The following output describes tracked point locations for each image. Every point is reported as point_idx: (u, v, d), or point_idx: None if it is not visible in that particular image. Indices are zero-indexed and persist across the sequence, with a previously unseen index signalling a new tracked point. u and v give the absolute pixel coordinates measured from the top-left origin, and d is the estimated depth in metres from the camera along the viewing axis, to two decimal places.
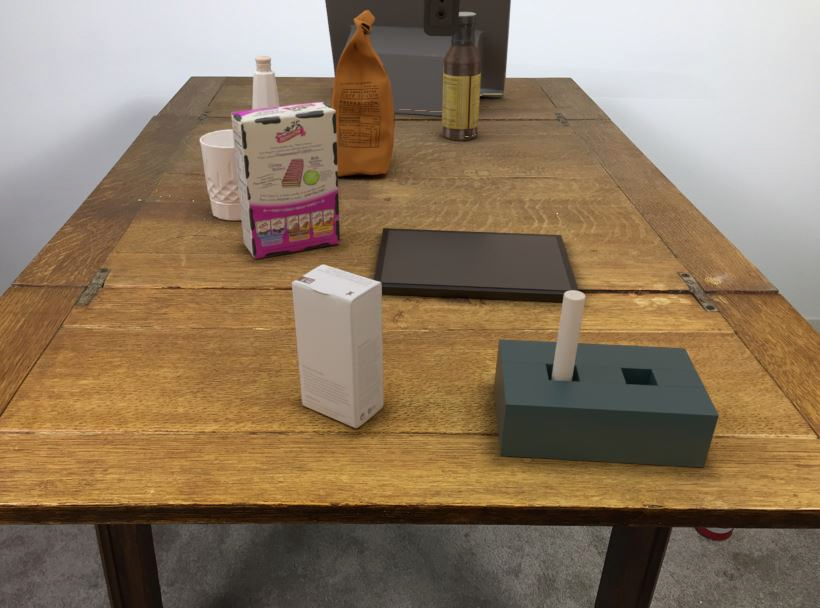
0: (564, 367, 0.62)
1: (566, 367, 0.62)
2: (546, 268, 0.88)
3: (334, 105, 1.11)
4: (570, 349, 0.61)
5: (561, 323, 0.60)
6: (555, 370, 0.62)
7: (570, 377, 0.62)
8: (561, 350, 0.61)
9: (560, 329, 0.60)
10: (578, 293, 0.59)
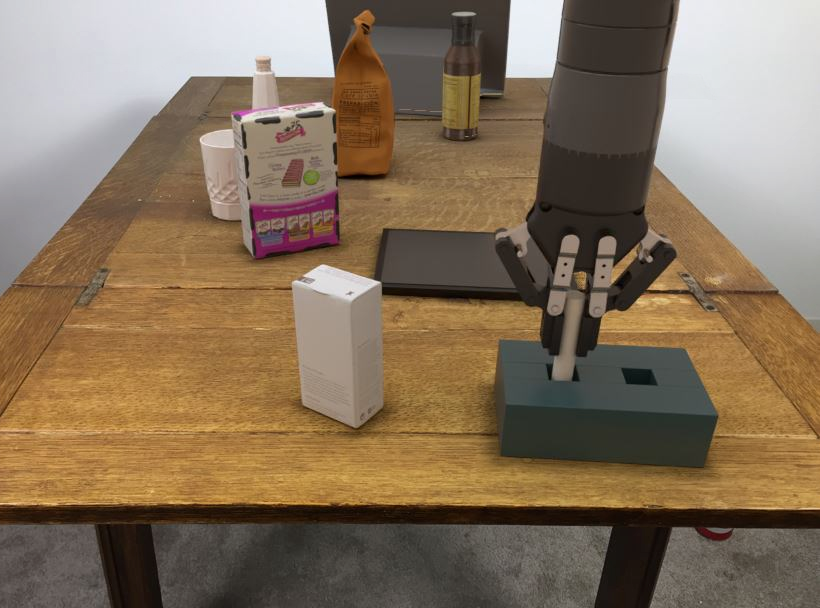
0: (564, 367, 0.62)
1: (566, 367, 0.62)
2: (546, 268, 0.88)
3: (334, 105, 1.11)
4: (570, 349, 0.61)
5: None
6: (555, 370, 0.62)
7: (570, 377, 0.62)
8: (560, 350, 0.61)
9: None
10: (578, 293, 0.59)
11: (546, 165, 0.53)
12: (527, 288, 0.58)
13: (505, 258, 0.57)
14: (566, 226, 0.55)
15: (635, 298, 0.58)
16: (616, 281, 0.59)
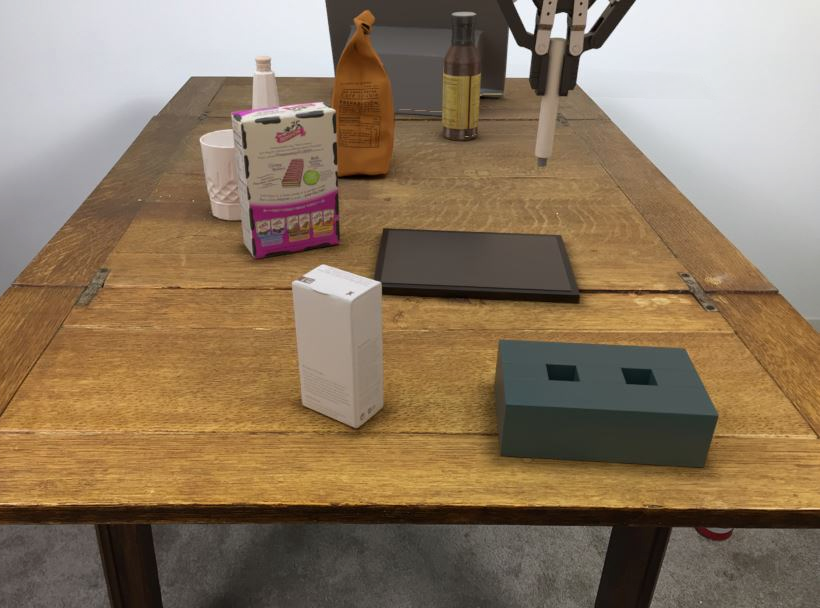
0: (549, 107, 0.75)
1: (551, 107, 0.75)
2: (546, 268, 0.88)
3: (334, 105, 1.11)
4: (554, 89, 0.74)
5: None
6: (541, 112, 0.75)
7: (554, 117, 0.75)
8: (546, 91, 0.74)
9: None
10: (561, 38, 0.72)
11: None
12: (519, 29, 0.71)
13: (501, 0, 0.70)
14: None
15: (607, 36, 0.71)
16: (592, 28, 0.72)
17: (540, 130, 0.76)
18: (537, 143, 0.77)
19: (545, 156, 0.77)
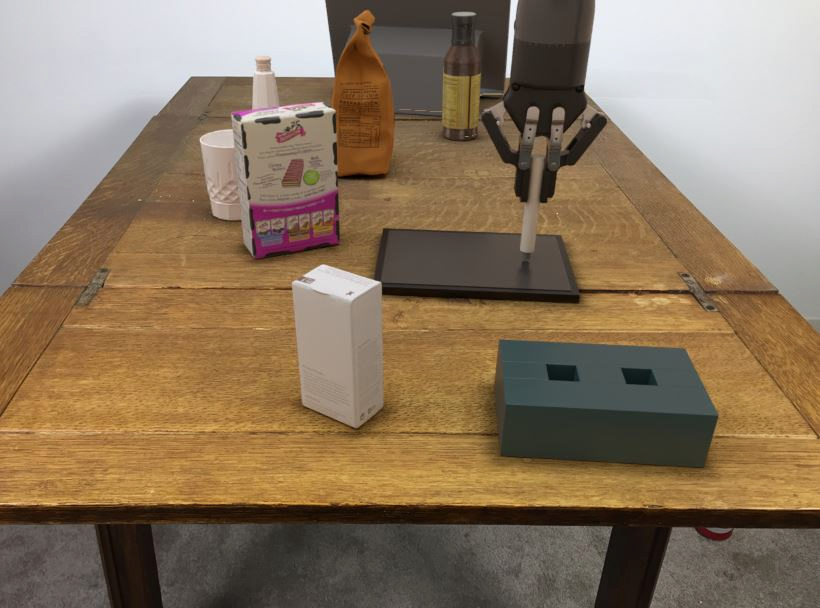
0: (531, 211, 0.86)
1: (533, 211, 0.86)
2: (546, 268, 0.88)
3: (334, 105, 1.11)
4: (535, 197, 0.85)
5: None
6: (525, 214, 0.87)
7: (536, 220, 0.87)
8: (529, 199, 0.86)
9: None
10: (541, 155, 0.84)
11: (515, 56, 0.78)
12: (504, 149, 0.82)
13: (488, 126, 0.81)
14: (530, 102, 0.80)
15: (579, 155, 0.82)
16: (567, 146, 0.84)
17: (524, 230, 0.88)
18: (521, 240, 0.89)
19: (528, 251, 0.89)
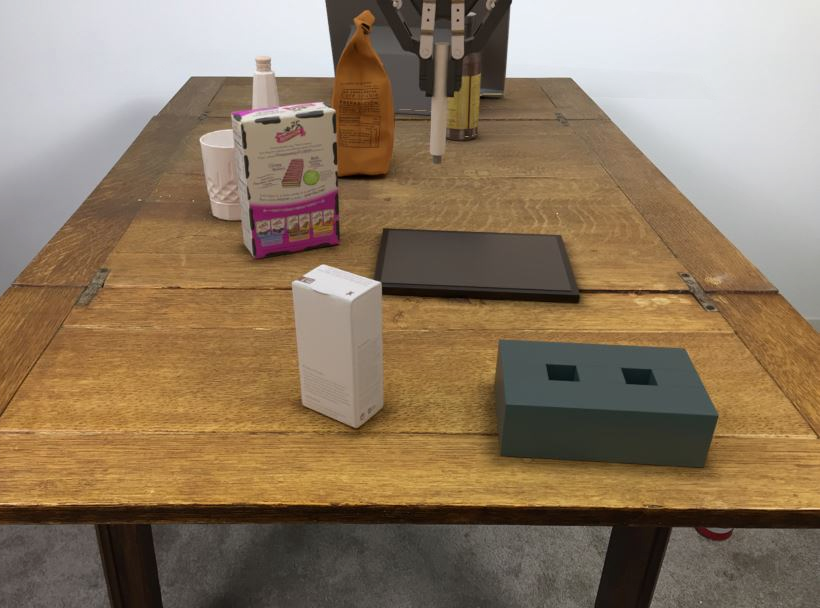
0: (438, 107, 0.79)
1: (439, 107, 0.79)
2: (546, 268, 0.88)
3: (334, 105, 1.11)
4: (441, 90, 0.78)
5: (433, 69, 0.78)
6: (432, 112, 0.80)
7: (444, 117, 0.80)
8: (434, 93, 0.79)
9: (433, 74, 0.78)
10: (445, 43, 0.77)
11: None
12: (403, 34, 0.76)
13: (384, 8, 0.75)
14: None
15: (485, 40, 0.75)
16: (474, 33, 0.77)
17: (432, 129, 0.81)
18: (430, 142, 0.82)
19: (438, 154, 0.82)
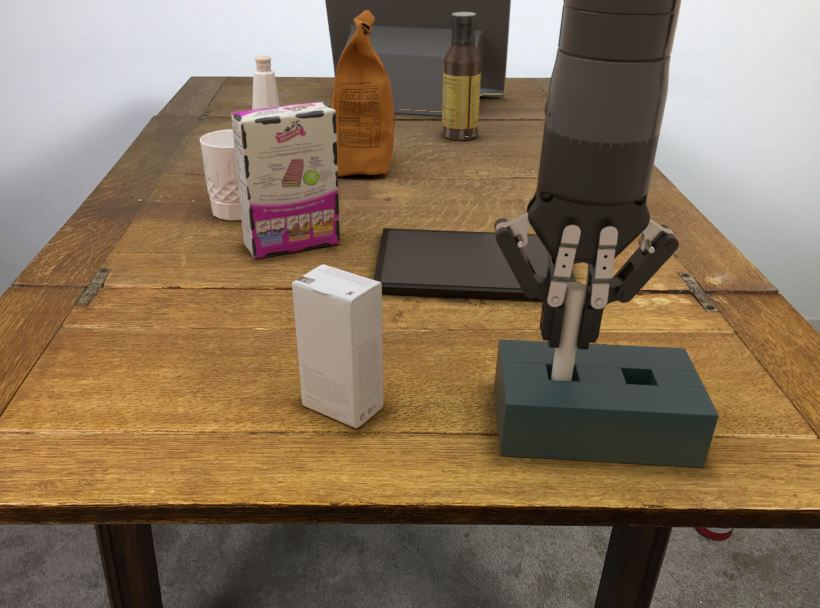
0: (565, 359, 0.61)
1: (567, 359, 0.61)
2: (546, 268, 0.88)
3: (334, 105, 1.11)
4: (571, 341, 0.60)
5: None
6: (555, 363, 0.62)
7: (571, 370, 0.62)
8: (561, 343, 0.61)
9: None
10: (580, 285, 0.59)
11: (547, 154, 0.53)
12: (527, 279, 0.57)
13: (505, 248, 0.56)
14: (567, 217, 0.55)
15: (637, 289, 0.57)
16: (618, 273, 0.59)
17: None
18: None
19: None
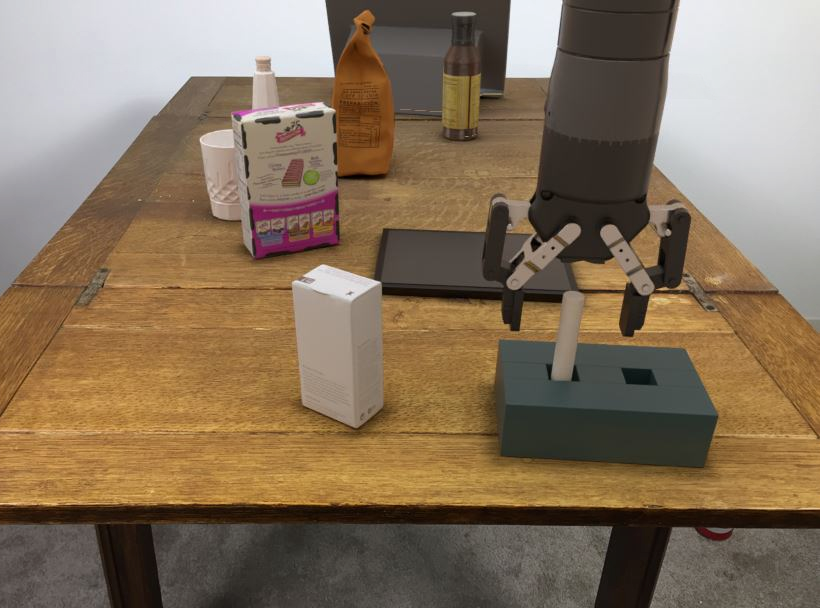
0: (563, 368, 0.62)
1: (565, 368, 0.61)
2: (546, 268, 0.88)
3: (334, 105, 1.11)
4: (569, 350, 0.61)
5: (560, 324, 0.60)
6: (554, 371, 0.62)
7: (569, 378, 0.62)
8: (560, 351, 0.61)
9: (559, 329, 0.60)
10: (578, 294, 0.59)
11: (547, 153, 0.53)
12: (494, 261, 0.57)
13: (495, 223, 0.56)
14: (567, 215, 0.55)
15: (680, 270, 0.56)
16: (658, 262, 0.58)
17: None
18: None
19: None
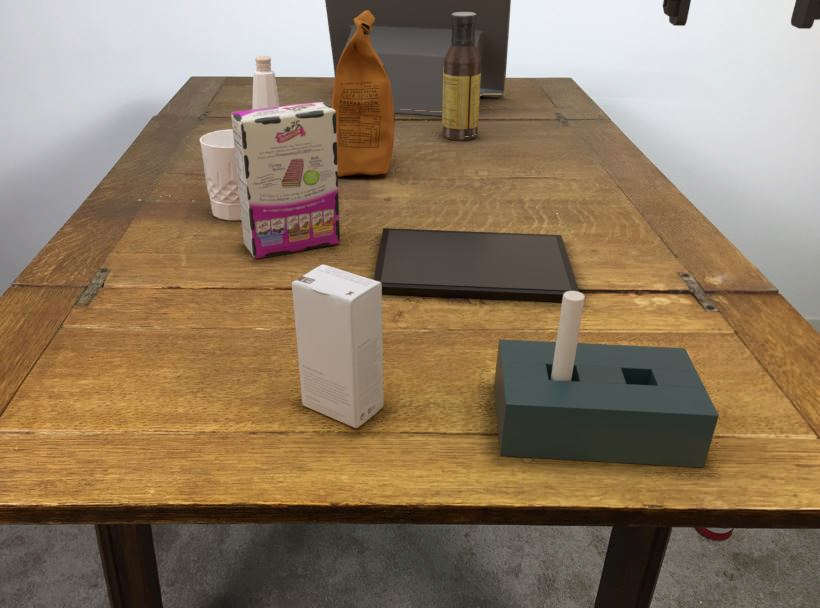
0: (563, 368, 0.62)
1: (565, 368, 0.61)
2: (546, 268, 0.88)
3: (334, 105, 1.11)
4: (569, 350, 0.61)
5: (560, 324, 0.60)
6: (554, 371, 0.62)
7: (569, 378, 0.62)
8: (560, 351, 0.61)
9: (559, 329, 0.60)
10: (578, 294, 0.59)
11: None
12: None
13: None
14: None
15: None
16: None
17: None
18: None
19: None
